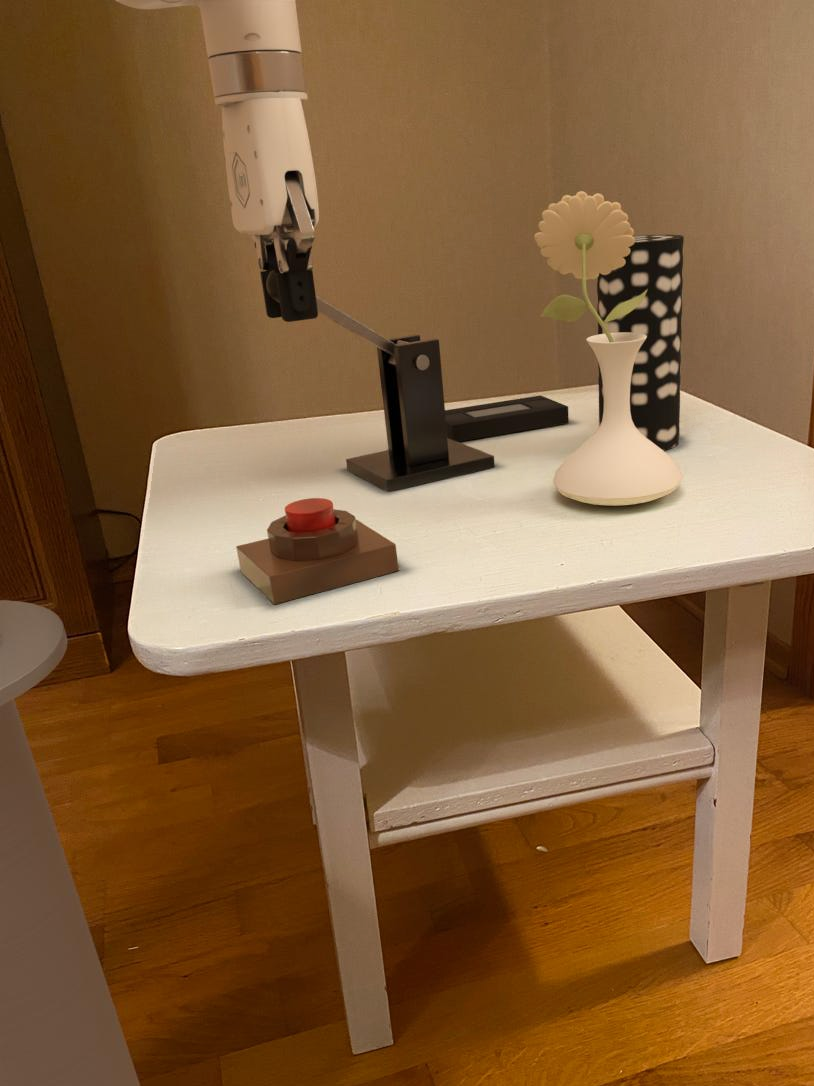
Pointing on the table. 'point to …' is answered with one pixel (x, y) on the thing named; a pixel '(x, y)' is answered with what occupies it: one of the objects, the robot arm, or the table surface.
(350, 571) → the button block
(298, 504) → the button
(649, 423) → the white-spotted black cylinder
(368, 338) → the lever
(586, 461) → the flower in vase
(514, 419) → the vhs tape
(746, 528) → the table surface
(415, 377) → the bracket
